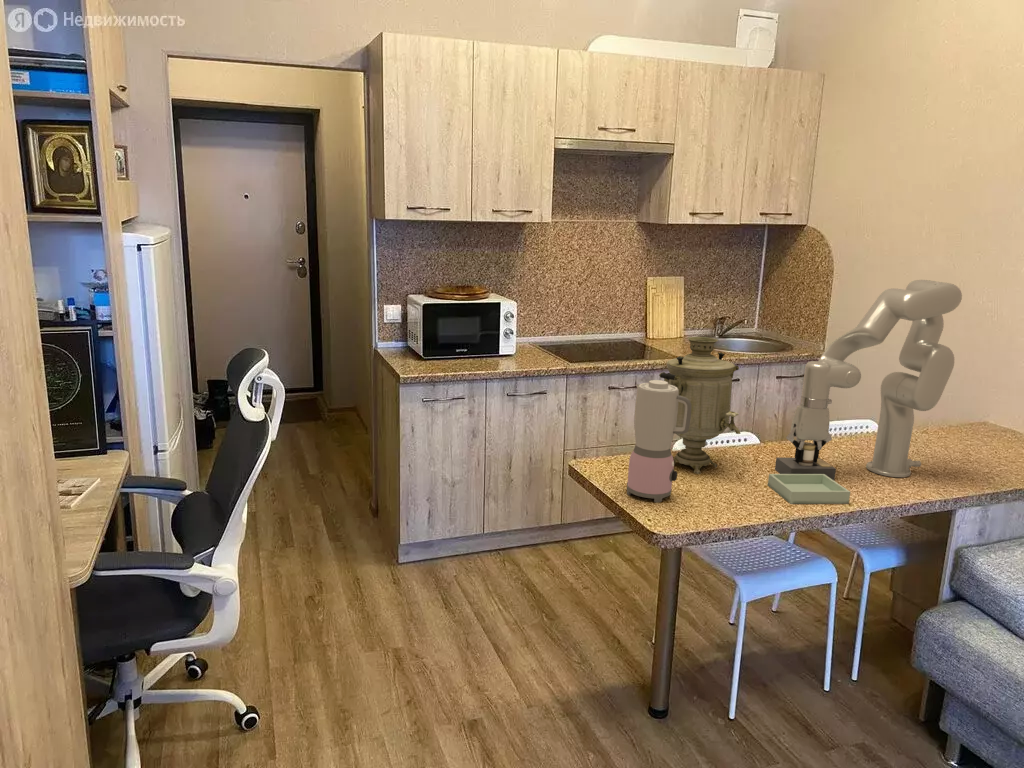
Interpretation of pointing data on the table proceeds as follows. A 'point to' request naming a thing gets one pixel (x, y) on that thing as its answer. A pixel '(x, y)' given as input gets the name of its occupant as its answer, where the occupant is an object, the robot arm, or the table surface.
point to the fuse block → (804, 467)
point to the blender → (655, 439)
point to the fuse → (808, 454)
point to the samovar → (702, 398)
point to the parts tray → (808, 489)
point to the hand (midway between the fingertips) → (806, 460)
